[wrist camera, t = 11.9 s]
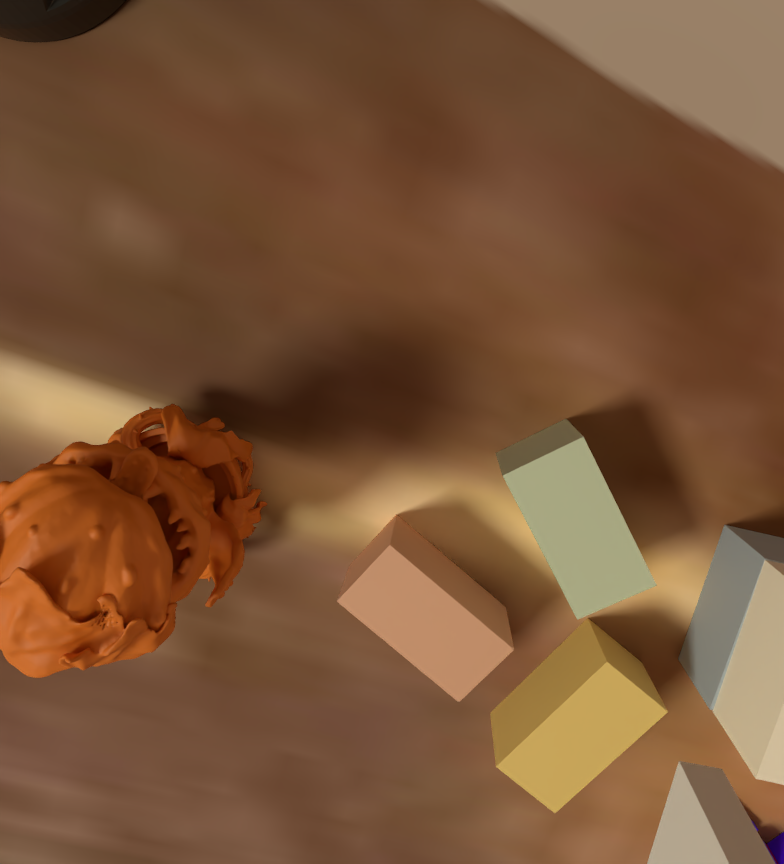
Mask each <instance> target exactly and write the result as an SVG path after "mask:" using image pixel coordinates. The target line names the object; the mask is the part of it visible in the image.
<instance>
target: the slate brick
mask: <svg viewBox="0 0 784 864" xmlns="http://www.w3.org/2000/svg"><path fill="white" fill-rule="evenodd" d="M765 560H768V561H773V562H778V563H783V564H784V538H781V537H777V536H772V535H768V534H764V533H759V532H755V531H750V530H746V529H741V528H737V527H732V526H728V525H724V528H723V531H722V534H721V536H720V539H719V542H718V545H717V548H716V551H715V554H714V557H713V560H712V562H711V565H710V568H709V571H708V574H707V577H706V580H705V583H704V586H703V588H702V591H701V594H700V597H699V600H698V603H697V606H696V609H695V612H694V614H693V617H692V620H691V623H690V626H689V629H688V632H687V635H686V638H685V640H684V643H683V646H682V649H681V652H680V655H679V658H678V660H679V661H680V663H681V665H682V666H683V668H684V669H685V671H686V673H687V674H688V676H689V677H690V679H691V680H692V682H693V684H694V685H695V687H696V688H697V690H698V691H699V693H700V695H701V696H702V698H703V699H704V701H705V703H706V704H707V706H708V707H709V709H711V710H713V709H714V706H715V703H716V700H717V697H718V694H719V691H720V688H721V686H722V683H723V680H724V677H725V674H726V671H727V668H728V665H729V662H730V659H731V657H732V654H733V651H734V648H735V645H736V642H737V639H738V636H739V633H740V630H741V628H742V625H743V622H744V619H745V616H746V613H747V610H748V607H749V604H750V601H751V599H752V596H753V593H754V590H755V587H756V584H757V581H758V578H759V575H760V573H761V570H762V567H763V564H764V561H765Z"/></svg>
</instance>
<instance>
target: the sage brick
mask: <svg viewBox="0 0 784 864" xmlns="http://www.w3.org/2000/svg"><path fill="white" fill-rule="evenodd" d="M496 456H497V459H498V462H499V466H500V469H501V472H502V475H503V477H504V479H505V481H506V483H507V485H508V487H509V489H510V491H511V493H512V495H513V497H514V499H515V500H516V502H517V504H518V506H519V508H520V510H521V512H522V514H523V516H524V518H525V520H526V522H527V524H528V526H529V527H530V529H531V531H532V533H533V535H534V537H535V539H536V541H537V543H538V545H539V547H540V549H541V551H542V552H543V554H544V556H545V558H546V560H547V562H548V564H549V566H550V568H551V570H552V572H553V574H554V576H555V578H556V579H557V581H558V583H559V585H560V587H561V589H562V591H563V593H564V595H565V597H566V599H567V601H568V603H569V605H570V606H571V608H572V610H573V612H574V614H575V616H576V618H577V620H578V619H580V618H582V617H585V616H587V615H589V614H592V613H594V612H596V611H599V610H601V609H603V608H606V607H608V606H610V605H613V604H615V603H617V602H620V601H622V600H624V599H627V598H629V597H631V596H634V595H636V594H638V593H641V592H643V591H645V590H648V589H650V588H652V587H655V586H657V585H656V583H655V581H654V579H653V577H652V575H651V573H650V571H649V569H648V567H647V565H646V563H645V561H644V559H643V557H642V555H641V553H640V550H639V548H638V546H637V544H636V542H635V540H634V538H633V536H632V534H631V532H630V530H629V528H628V526H627V524H626V522H625V520H624V518H623V516H622V514H621V512H620V510H619V508H618V506H617V504H616V502H615V500H614V498H613V496H612V494H611V492H610V490H609V488H608V486H607V484H606V481H605V479H604V477H603V475H602V473H601V471H600V469H599V467H598V465H597V463H596V461H595V459H594V457H593V455H592V453H591V451H590V449H589V447H588V445H587V443H586V441H585V439H584V437H583V436H582V435H581V434H580V433H579V432H578V431H577V429H576V428H575V427H574V426H573V425H572V424H571V423H570V422H569V421H568V420H567V419H564V420H562V421H560V422H558V423H556V424H554V425H552V426H550V427H548V428H546V429H544V430H542V431H540V432H538V433H536V434H534V435H531V436H529V437H527V438H525V439H523V440H521V441H519V442H517V443H515V444H513V445H511V446H509V447H507V448H505V449H503V450H501V451H499V452H497V453H496Z"/></svg>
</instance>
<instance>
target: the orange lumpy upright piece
mask: <svg viewBox="0 0 784 864" xmlns="http://www.w3.org/2000/svg"><path fill="white" fill-rule="evenodd" d="M155 424H164V428H156V429H151V430H148V431H145V432H143V433H141V432H142V431H143V430H145V429H146V428H148V427H150V426H152V425H155ZM224 427H225V424H224V423H223V422H221V419H220V418H211V419H210V420H209V421H207V422H204V423H202V424H200V425H198V426H197V425H196V424H194V423H192V422H191V421H189V420H188V419H186V416H185V414H184V413H183V411H182V409H181V408H180V407H179V406H176V405H175V404H171V405H170V406H166V407H164V409H158V408H156V409H152V408H151V407H149V410H146V411H144V412H142V413H140V414H137V415H136V416H134V417H133V418H131V419H130V420H129V421H128V422H127V423H126V424H125V425H124V427H123V428H121V429H119V430H117V431H115V432H114V434H113V435H112V436H111V437H110V438H109V440H108V443H107V444H103V445H90V444H88V443H85V442H75V443H72V444H70V445H69V446H68V447H66V448H65V449H64V450H63V451H62V453H61V454H60V455H57V456H56V457H54V458H53V459H52V460H51V461H50V462H48V463H46V464H40V465H39V466H38V467H36V468H34V469H32V470H30V471H29V472H27V473H26V474H24V475H23V476H22V477H20V478H19V479H17V480H16V481H14V482H9V481H3V482H1V483H0V649H1V650H2V652H3V654H4V656H5V658H6V660H7V661H8V662H9V663H10V664H12V665H13V666H15V667H16V668H17V669H18V670H20V671H21V672H22V673H23V674H25V675H27V676H30V677H34V678H41V677H46V676H49V675H51V674H53V673H56V672H58V671H62V670H65V669H69V668H72V667H77V668H80V669H81V670H85V669H87V668H89V667H91V666H100V665H104V664H109V663H112V662H116V661H119V660H126V659H135V658H137V657H139V656H141V655H143V654H145V653H149V652H153V651H155V650H156V649H157V648H158V646H159V645H161V644H162V643H163V642H164V641H165V640H166V639H167V638H168V637H169V636H170V635H171V633H172V632H173V630H174V628H175V618H176V617H175V611H176V609H175V608H176V607H177V603H176V602H177V601H179V600H181V599H183V598H185V597H186V596H187V595H188V594H189V593H190V592H191V590H192V588H193V587H194V585H195V584H196V582H197V580H198V579H199V578H200V579H206V578H208V580H209V582H210V578H211V577H212V579H213V580H214V582H215V588H214V590H213V591H212V593H211V595H210V597H209V599H208V600H207V602H206V604H205V606H207V607H212V606H213V604H214V603H215V602H216V601H217V599H220V598H222V597H223V596H224V595H225V592H224V591H226V590H228V589H229V586H232V585H233V579H234V578H235V577H236V576H237V574H238V573H239V571H240V569H241V567H242V566H243V561H244V553H245V550H244V546H243V542H242V540H243V539H244V538H248V536H250V535H252V533H253V531H254V529H255V528H256V527H254V526H253V525H252V524H254V523H258V522H259V521H261V514H260V510H261V508H262V507H264V506H266V505H267V503H266V502H264V501H260V502H258V503H257V505H256V508H254V509H251V508H253V507H254V505H255V503H256V500H257V498H258V496H259V495H260V493H261V490H260V489H252V490H251V491H250V493H249V492H248V489H247V486H251V484H249V483H248V482H249V480H250V477H251V475H252V472H253V461H252V458H251V453H252V449H253V445H252V443H251V442H248V441H245V440H243V439H241V440H240V439H239V438H238V437H237V436H236V435H235V434H234V433H233V431H228V432H222V431H219V430H221V429H223V428H224ZM237 460H239V461H241V462H242V465H243V470H242V472H241V468H240V465H239V463H238V461H237Z"/></svg>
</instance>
